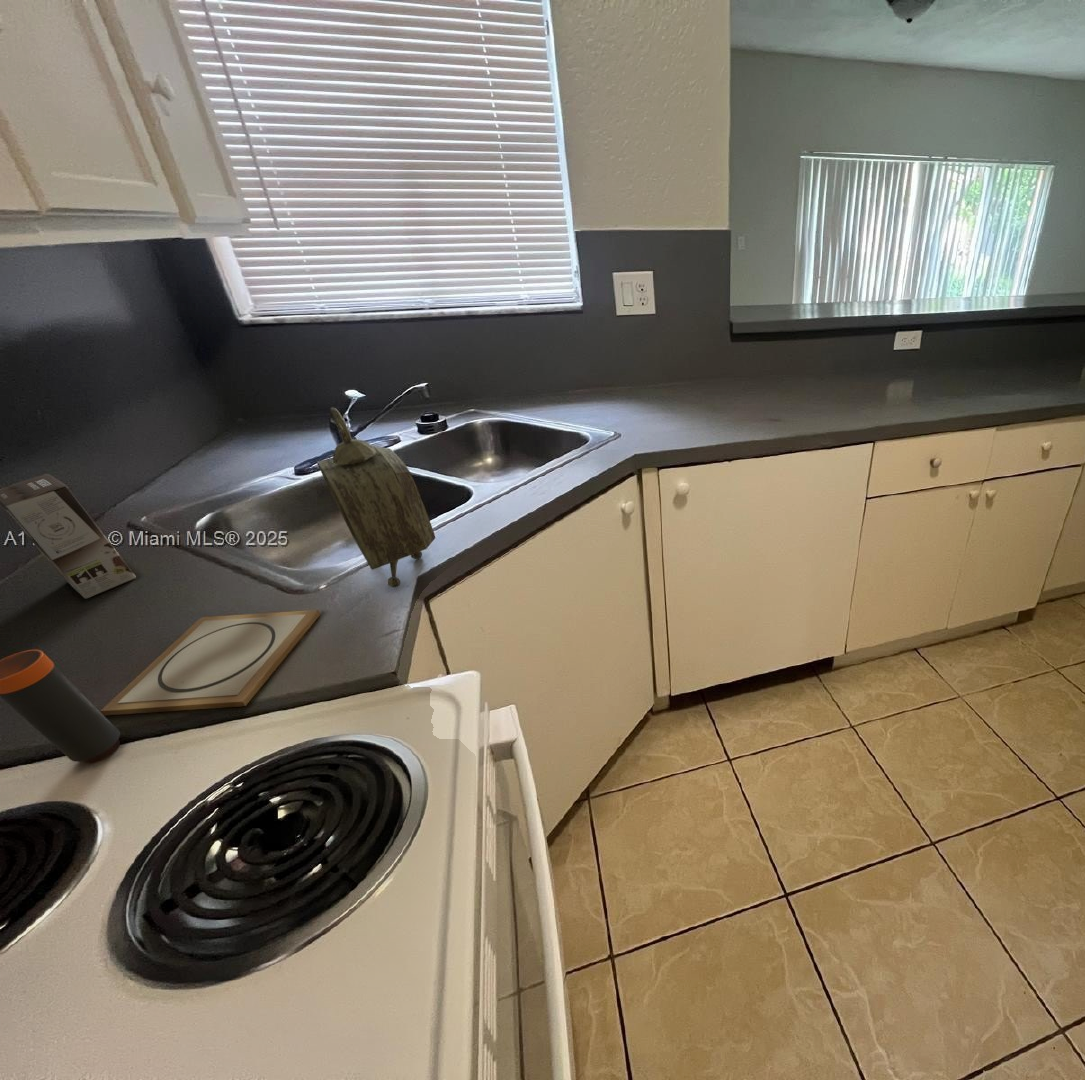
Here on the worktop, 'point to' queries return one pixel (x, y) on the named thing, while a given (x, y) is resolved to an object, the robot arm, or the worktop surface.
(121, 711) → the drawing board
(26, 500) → the coffee box
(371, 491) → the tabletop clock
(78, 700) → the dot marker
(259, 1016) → the worktop surface
